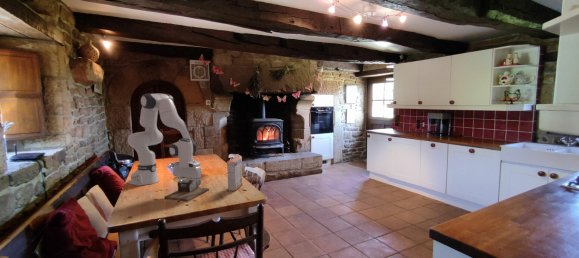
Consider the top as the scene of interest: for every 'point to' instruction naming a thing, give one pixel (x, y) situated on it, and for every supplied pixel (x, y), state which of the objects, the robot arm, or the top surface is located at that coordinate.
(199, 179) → the coffee box
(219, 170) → the top surface
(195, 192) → the walnut board
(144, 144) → the robot arm
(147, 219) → the top surface
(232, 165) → the cracker box
